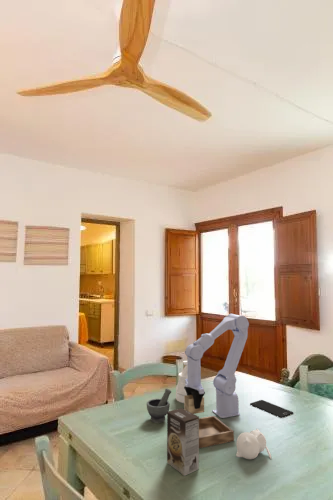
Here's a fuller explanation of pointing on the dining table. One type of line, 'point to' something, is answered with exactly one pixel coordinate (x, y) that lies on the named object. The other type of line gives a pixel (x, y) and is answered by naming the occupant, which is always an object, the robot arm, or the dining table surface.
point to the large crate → (213, 432)
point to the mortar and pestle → (159, 407)
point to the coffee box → (183, 441)
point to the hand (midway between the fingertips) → (194, 405)
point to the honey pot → (181, 384)
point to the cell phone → (271, 408)
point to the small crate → (192, 405)
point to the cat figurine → (251, 444)
